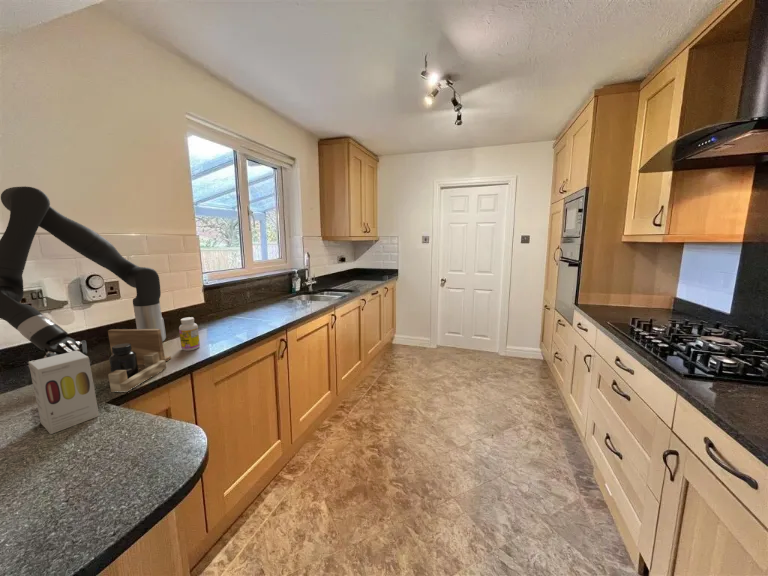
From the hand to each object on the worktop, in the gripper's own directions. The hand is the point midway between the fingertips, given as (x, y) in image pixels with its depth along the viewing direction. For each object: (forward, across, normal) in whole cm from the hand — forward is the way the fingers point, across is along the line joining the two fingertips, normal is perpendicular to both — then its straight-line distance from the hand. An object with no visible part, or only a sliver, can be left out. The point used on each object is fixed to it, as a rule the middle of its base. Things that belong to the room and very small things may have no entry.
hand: (88, 367), depth 102 cm
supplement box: (+14, -22, -7) cm, 27 cm away
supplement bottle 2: (+15, +28, -8) cm, 33 cm away
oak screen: (+8, +14, -1) cm, 16 cm away
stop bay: (+15, 0, -9) cm, 17 cm away
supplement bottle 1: (+12, 0, -5) cm, 13 cm away
